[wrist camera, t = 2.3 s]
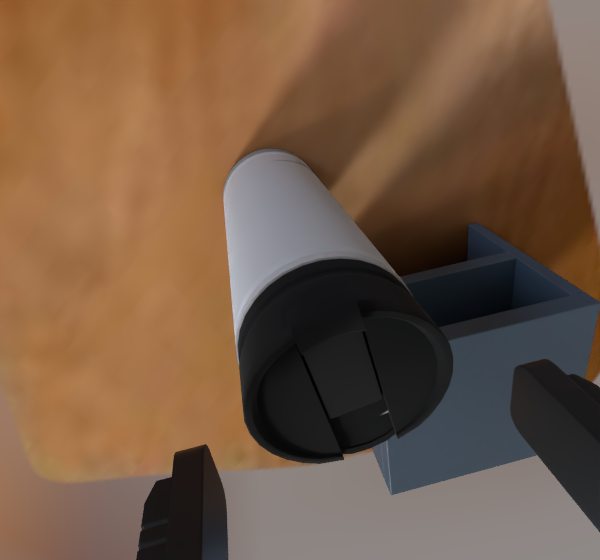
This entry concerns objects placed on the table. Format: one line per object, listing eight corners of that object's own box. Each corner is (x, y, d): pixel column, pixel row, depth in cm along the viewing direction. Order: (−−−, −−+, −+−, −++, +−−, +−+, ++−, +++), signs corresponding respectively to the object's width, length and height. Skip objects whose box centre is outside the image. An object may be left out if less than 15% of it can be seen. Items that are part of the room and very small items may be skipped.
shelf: (324, 256, 32) (379, 357, 22) (478, 222, 33) (601, 302, 23) (340, 370, 37) (391, 495, 27) (472, 338, 38) (570, 446, 28)
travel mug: (298, 127, 28) (449, 264, 10) (327, 220, 31) (479, 444, 13) (205, 163, 28) (195, 360, 10) (244, 251, 31) (287, 517, 13)
